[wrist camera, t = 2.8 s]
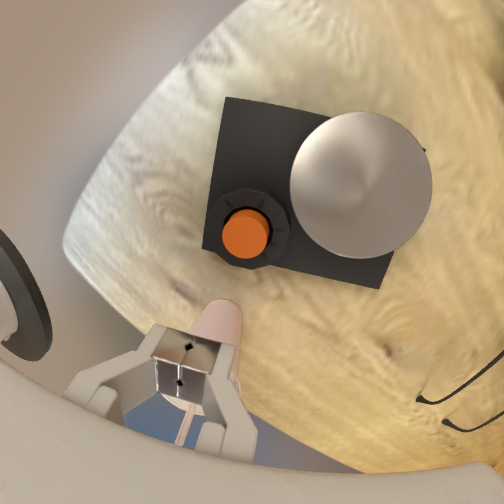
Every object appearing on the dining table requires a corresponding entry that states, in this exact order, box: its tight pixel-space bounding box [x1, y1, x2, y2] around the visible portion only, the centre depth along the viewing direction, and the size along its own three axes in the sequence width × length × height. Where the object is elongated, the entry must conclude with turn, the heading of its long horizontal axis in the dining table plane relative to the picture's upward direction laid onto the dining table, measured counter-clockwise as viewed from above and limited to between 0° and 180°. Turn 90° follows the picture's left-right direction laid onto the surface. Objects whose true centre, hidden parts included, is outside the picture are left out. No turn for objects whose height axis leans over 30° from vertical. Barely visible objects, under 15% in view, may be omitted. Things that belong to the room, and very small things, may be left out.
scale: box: [202, 97, 426, 289], centre depth 21 cm, size 15×12×3 cm
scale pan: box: [289, 112, 432, 259], centre depth 18 cm, size 10×10×1 cm
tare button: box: [222, 209, 269, 258], centre depth 21 cm, size 3×3×2 cm
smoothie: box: [161, 299, 242, 446], centre depth 22 cm, size 6×6×14 cm
